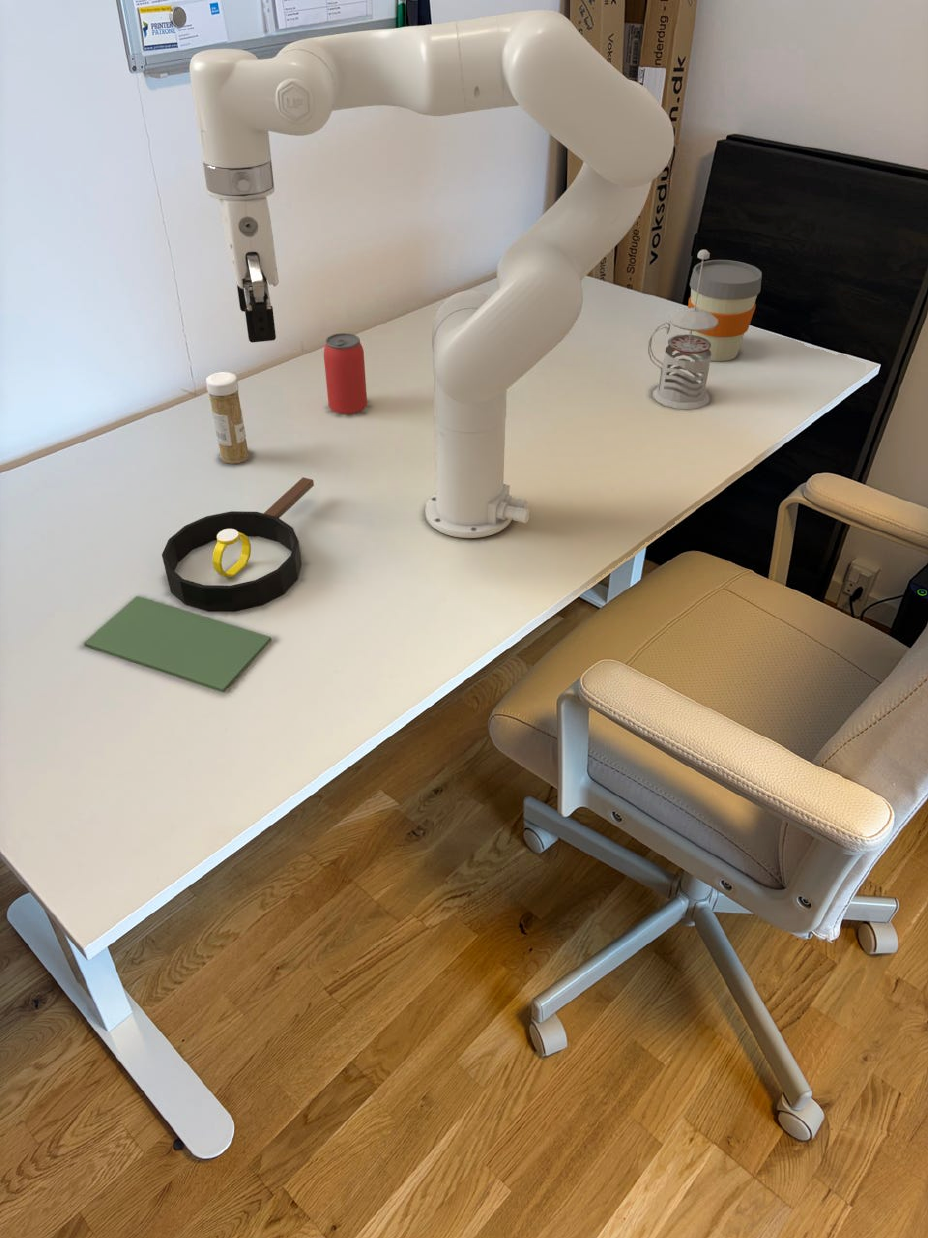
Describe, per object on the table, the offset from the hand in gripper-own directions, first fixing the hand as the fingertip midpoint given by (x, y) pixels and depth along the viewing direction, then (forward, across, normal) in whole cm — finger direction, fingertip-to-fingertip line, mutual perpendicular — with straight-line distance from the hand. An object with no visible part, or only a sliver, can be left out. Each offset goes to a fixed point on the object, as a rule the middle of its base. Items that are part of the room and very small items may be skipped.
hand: (257, 324), depth 118 cm
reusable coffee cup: (+28, +34, -86) cm, 97 cm away
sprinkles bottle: (+29, +19, +5) cm, 35 cm away
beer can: (+29, +31, -16) cm, 45 cm away
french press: (+28, +20, -71) cm, 79 cm away
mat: (+29, -24, +16) cm, 40 cm away
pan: (+29, -7, +4) cm, 30 cm away
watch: (+29, -11, +8) cm, 32 cm away
